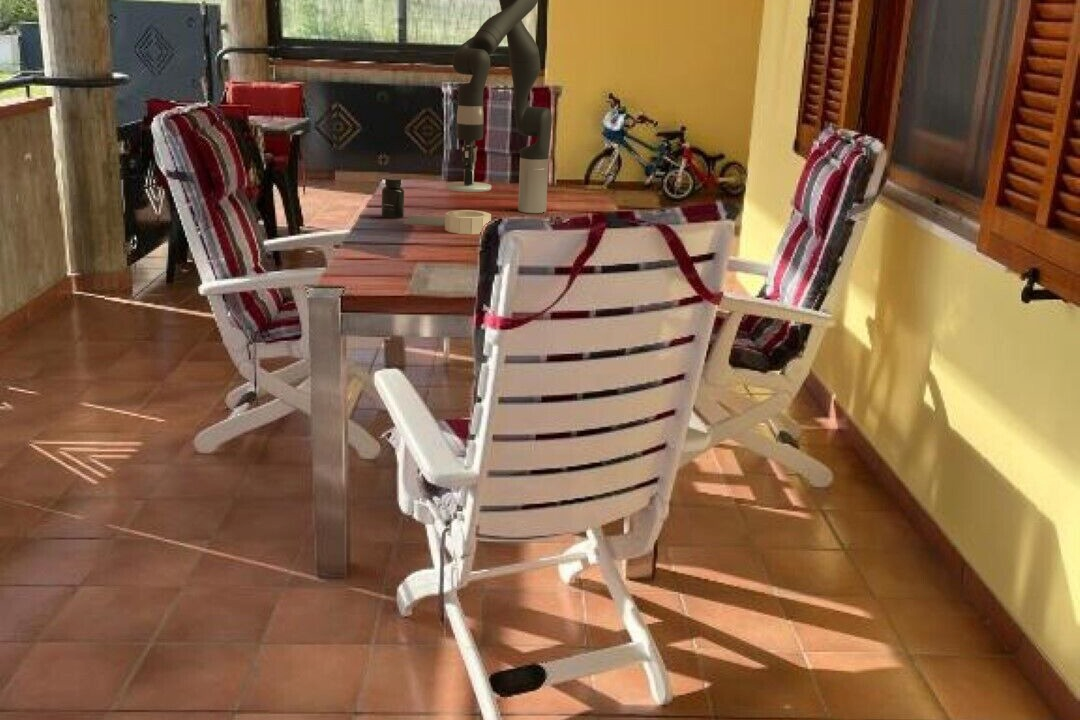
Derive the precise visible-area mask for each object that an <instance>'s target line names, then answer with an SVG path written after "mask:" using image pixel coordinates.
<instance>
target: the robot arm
mask: <svg viewBox="0 0 1080 720" xmlns="http://www.w3.org/2000/svg"><path fill="white" fill-rule="evenodd" d="M538 2H539V0H499V6H500V10H501V11H499V12H497V13H495V14H493V15H492V16H491V17H489V18H487V20H485V21H484V22H483V23H482V24H481V26H480V27H479V29H478V30H477V31H476V33H474V35H473V36H472V37H470V38H469V39H468V40H466V41H465V42H464V43H462V44H461V45H460V46H458V48H456V50H455V51H454V54H453V56H452V67H453V69H454V71H455V72H456V73H458V74H461V75H471V79H470V81H469V82H467V83H461V84H460V85H459V86H458V89H457V90H458V91H457V92H458V93H457V95H458V96H457V100H458V102H457V111H456V138H457V139H458V140H463V141H464V145H463V146H461V153H462V154H461V155H462V170H463V182H464V184H468V185H471V184H472V171H473V167H474V170H475V169H476V163H477V152H478V145H476V141H482V140H483V138H484V118H485V117H484V115H485V114H484V90H485V88H486V87H485V86H486V83H487V79H488V75H489V72H490V69H491V58H490V56H491V55H492V54H493V53H494V52H495V51H497V48H498V47H499V46H500V44H501V43H502V42H503V40H504V39H505V37H506V41H507V48H508V49H507V50H508V57H509V58H508V59H509V66H510V73H511V78H512V85H513V95H514V112H515V113H514V115H515V125H516V130H517V132H518V134H519V135H521V136H524V137H537V138H536V142H535V143H533V144H531V145H529V146H523V147H522V148H521V149H520V151H519V173H518V174H519V176H518V177H519V178H518V200H517V205H518V206H517V212H521V213H526V214H543V212H544V213H546V212H547V204H548V203H547V201H548V182H549V181H548V180H549V179H548V177H549V157H550V156H549V153H550V146H551V144H550V143H551V132H552V126H553V125H552V123H553V122H552V121H553V118H552V117H553V116H552V112H551V110H550V109H549V108H548V107H544V106H543V107H541V106H530V105H529V104H528V101H529V99H528V98H529V94H530V91H531V90H532V87H533V85H534V84H535V82H536V81H537V79H538V77H539V74H540V73H541V58H540V51H539V47H538V44H537V42H536V41H535V39H534V37H533V36H532V34H531V33H530V32H529V31H528V29H527V27H526V26H525V24H524V23H523V19H524V18H525V17H526V16H527V15H528V14H529V13H531V12H532V11H533V10H534V8H535V7H536V5H537V4H538Z"/></svg>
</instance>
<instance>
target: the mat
mask: <svg viewBox="0 0 1080 720" xmlns="http://www.w3.org/2000/svg"><path fill="white" fill-rule="evenodd" d="M402 225H417V226H431V227H433V226H434V227H435V226H437V227H445V216H444V217H442V216H441V217H438V216H424V215H423V216H420V215H410V216H409V217H408V218H407V219H406V220H405V221H404V222H403V223H402Z"/></svg>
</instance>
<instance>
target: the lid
mask: <svg viewBox="0 0 1080 720" xmlns="http://www.w3.org/2000/svg"><path fill="white" fill-rule="evenodd" d="M474 179H475V169H474V167H473V171H472V184H471V185H468V184H464V181H452V182H447V183H445V188H446V189H447V190H450V191H453V192H465V193H467V192H468V193H480V192H483V193H484V192H488V191H489V192H490V191H491V190H492V185H491V184H490V183H485V182H477V181H475V180H474Z"/></svg>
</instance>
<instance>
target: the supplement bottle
mask: <svg viewBox="0 0 1080 720" xmlns="http://www.w3.org/2000/svg"><path fill="white" fill-rule="evenodd" d="M384 182H385V183H384V185H385V186H384V187H383V188H382V189H381V218H383V219H388V220H389V219H392V220H393V219H395V220H396V219H403V218H404V216H405V190H404V188H403V187H401V186H402V179H401V178H398V177H385V180H384Z"/></svg>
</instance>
